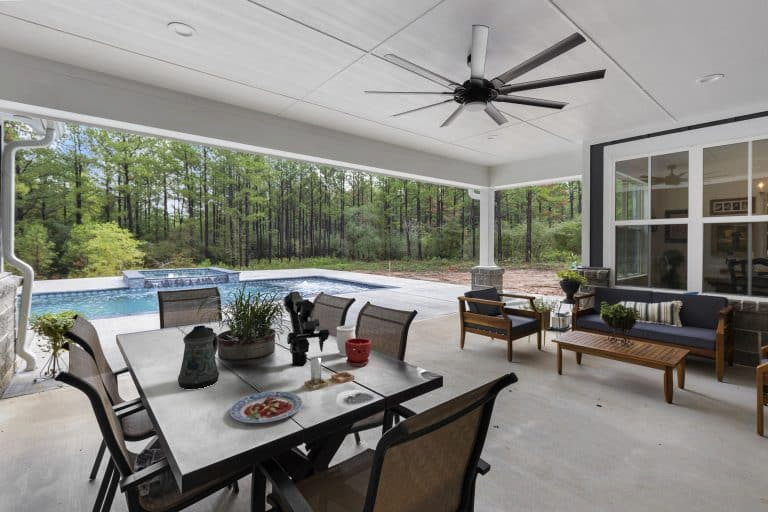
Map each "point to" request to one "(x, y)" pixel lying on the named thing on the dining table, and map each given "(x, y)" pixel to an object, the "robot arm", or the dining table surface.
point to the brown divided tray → (330, 381)
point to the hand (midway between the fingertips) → (311, 352)
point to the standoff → (315, 371)
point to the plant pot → (357, 351)
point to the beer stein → (199, 359)
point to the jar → (344, 337)
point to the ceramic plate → (266, 407)
